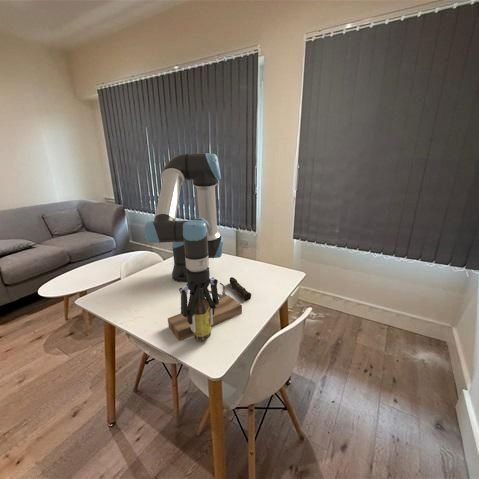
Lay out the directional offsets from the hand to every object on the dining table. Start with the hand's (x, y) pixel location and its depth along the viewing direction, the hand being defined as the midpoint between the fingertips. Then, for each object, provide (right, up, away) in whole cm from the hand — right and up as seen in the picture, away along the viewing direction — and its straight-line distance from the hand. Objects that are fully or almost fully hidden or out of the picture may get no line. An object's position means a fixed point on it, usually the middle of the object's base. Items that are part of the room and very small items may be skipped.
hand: (201, 326), depth 94 cm
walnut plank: (0, -1, +12) cm, 12 cm away
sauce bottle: (0, -4, +1) cm, 4 cm away
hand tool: (+13, +5, +33) cm, 36 cm away
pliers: (+5, +5, +33) cm, 34 cm away
